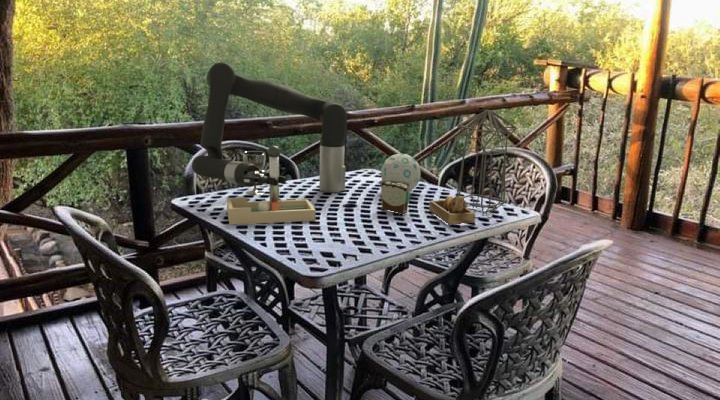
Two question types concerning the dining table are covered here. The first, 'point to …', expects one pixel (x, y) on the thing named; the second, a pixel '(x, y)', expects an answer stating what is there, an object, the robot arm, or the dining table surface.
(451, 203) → the lion figurine
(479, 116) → the geometric lantern
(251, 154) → the wine glass
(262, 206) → the ball
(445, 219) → the figurine crate
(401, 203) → the food container
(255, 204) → the tray
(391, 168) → the puzzle ball
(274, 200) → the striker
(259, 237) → the dining table surface
